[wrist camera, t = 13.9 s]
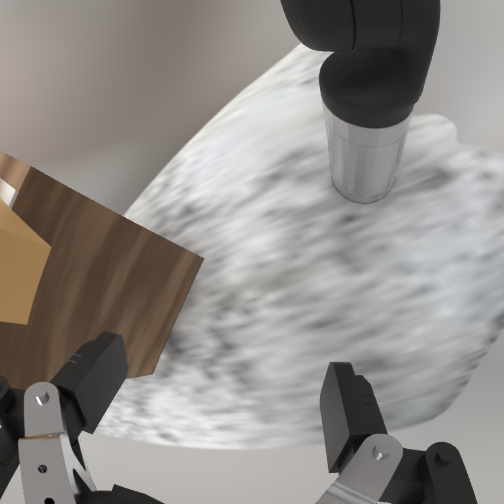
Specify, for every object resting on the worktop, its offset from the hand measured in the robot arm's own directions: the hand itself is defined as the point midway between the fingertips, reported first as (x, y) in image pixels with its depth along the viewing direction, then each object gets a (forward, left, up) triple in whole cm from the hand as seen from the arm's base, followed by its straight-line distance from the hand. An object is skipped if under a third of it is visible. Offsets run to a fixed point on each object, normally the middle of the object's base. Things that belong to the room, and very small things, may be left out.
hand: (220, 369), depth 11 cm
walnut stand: (-3, -25, -29) cm, 38 cm away
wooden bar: (-6, -20, +2) cm, 21 cm away
